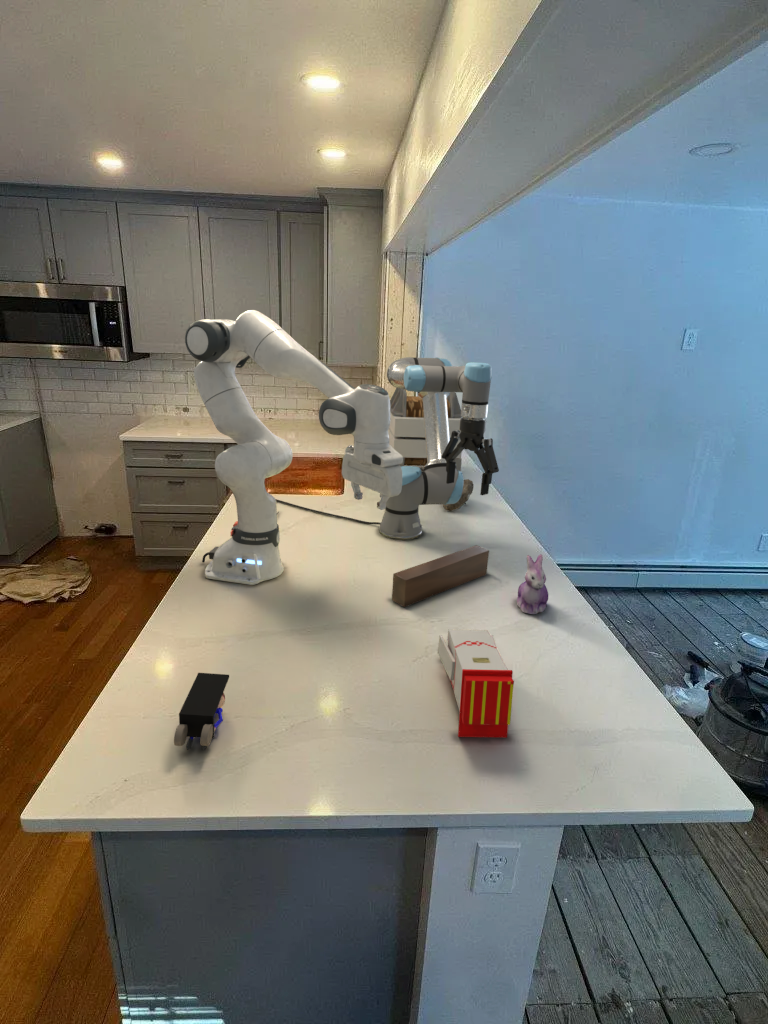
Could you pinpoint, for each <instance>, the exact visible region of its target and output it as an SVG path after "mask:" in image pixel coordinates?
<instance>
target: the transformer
mask: <svg viewBox="0 0 768 1024" xmlns="http://www.w3.org/2000/svg"><path fill="white" fill-rule="evenodd" d="M407 394H408V393H407V390H403V389H399V388H396V387H395V390H394V392H393V394H392V395H391V398H390V426H389V429H388V435H389V445H391V446H392V447H393V448H394V449H395V450H396V451H397V452H398V453H399V454H401V455H402V457H403V462H402V464H399V465H400V466H401V467H402V466H416V467H424V466H425V465H426V464H427V452H426V439H425V426H424V412H423V400H422V399H420V398H419V397H418V395H417V396H415V395H414V396H413V395H412V396H411V395H407ZM446 401H447V413H448V425H449V437H450V439H451V434H452V431H457V430H459V431H460V429H459V428H460V419H461V418H463V417H462V416H461V405H460V402H459V398H458V395H457V392H450V394H449V395H448V397H447V398H446ZM460 432H461V431H460ZM460 441H461V440H460V438H459V440H458V442H457V444H456V446H455V448H456V447H457V445H458V444H459V442H460ZM455 448H454V449H455ZM462 453H463V451H462V452H461V453H460V454H459V455H458V456H457V457H456V459H455V461H453V462H456V468H457V471H461V472H462V461H463V460H462Z"/></svg>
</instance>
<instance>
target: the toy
mask: <svg viewBox="0 0 768 1024" xmlns="http://www.w3.org/2000/svg"><path fill="white" fill-rule="evenodd" d="M446 640H447V643H446V641H445V639H444V636H443V635H442V634H439V637H438V646H437V656H438V657H439V659H440V661H441V663H442V666H443V668H444V670H445V672H446V674H447V677H448V679H449V681H450V684H451V687H452V690H453V693H454V697H455V701H456V705H457V708H458V711H459V714H458V715H459V716H458V730H457V731H458V732H457V737H458V738H508V731H509V726H510V725H511V717H512V707H513V697H514V696H513V695H514V684H515V680H514V679H513V673H514V671H513V670H512V669H508V667H507V665H506V662H505V661H504V659H503V658H502V655H501V653H500V651H499V649H498V647H497V643H496V639H495V637H494V635H493V634H491V632H490V631H489V629H467V628H466V629H465V628H463V629H461V628H460V629H459V628H448V630H447V639H446Z"/></svg>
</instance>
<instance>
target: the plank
mask: <svg viewBox="0 0 768 1024" xmlns="http://www.w3.org/2000/svg"><path fill="white" fill-rule="evenodd" d="M489 556H490V550H489V549H487V548H484V547H482V546H480V545H478V544H475V545H473V546H469V547H467V548H464V549H461V550H458V551H454V552H453V553H449V554H447V555H443V556H441V557H438V558H435V559H431V560H429V561H426V562H423V563H419V564H417V565H414V566H411V567H408V568H406V569H403V570H400V571H397V572H395V573H393V574H392V591H391V593H392V594H391V601H393V602H394V603H396V604H398V605H399V606H401V607H403V608H406V607H409V606H411V605H414V604H416V603H418V602H422V601H424V600H426V599H428V598H431V597H434V596H436V595H438V594H441V593H443V592H446V591H448V590H449V591H450V590H451V589H454V588H456V587H459V586H461V585H464V584H466V583H468V582H471V581H473V580H477V579H479V578H481V577H483V576H486V575H487V573H488V565H489Z"/></svg>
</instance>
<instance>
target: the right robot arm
mask: <svg viewBox="0 0 768 1024" xmlns="http://www.w3.org/2000/svg"><path fill="white" fill-rule="evenodd" d="M386 370H387V371H386V378H387V381H388V383H390V386H392V387H394V388H395V389H396V388H399V389H403V390H406V392H414V393H417V396H418V397H419V398H420V399H422V400H423V412H424V426H425V439H426V452H427V464H426V465H425V466H423V471H422V469H421V467H420V466H407V465H404V466H402V467H401V468H402V490H401V493H400V494H399V495H397V496H393V497H389V499H388V501H387V502H386V508H385V509H384V513H383V515H382V519H381V522H376V521H365V520H361V519H356V518H352V517H349V516H348V517H347V516H342V515H338V514H334V513H329V512H324V511H321V510H316V509H312V508H308V507H305V506H301V505H297V504H293V503H290V502H287V501H283V500H280V499H276V498H275V499H276V502H278V503H281V504H284V505H287V506H291V507H294V508H298V509H302V510H305V511H309V512H313V513H316V514H317V513H318V514H321V515H325V516H330V517H335V518H338V519H339V518H340V519H343V520H348V521H353V522H357V523H360V524H361V523H362V524H366V525H379V527H378V533H379V534H380V535H381V536H382V537H385V538H387V539H389V540H395V541H410V540H415V539H418V538H420V537H421V536H422V535H423V525H422V524H421V518H420V515H419V507H420V506H427V505H428V506H433V505H434V506H435V505H443V504H444V505H446V504H455V503H457V502H458V501H459V499H460V497H461V494H462V490H463V482H464V475H463V472H462V470H461V471H457V468H456V462H453V461H455V459H456V457H457V456H458V455H459V454H460V453H461V452H462V453H463V451H464V450H469V451H471V452H473V453H474V454H475V455H476V456H477V459H478V461H479V463H480V465H481V467H482V469H483V471H484V472H482V476H481V484H480V494H479V495H480V496H485V495H488V494H489V489H490V485H491V484H492V480H493V474H495V473H499V471H500V469H499V465H498V461H497V458H496V454H495V449H494V446H493V445H494V439H493V438H491V437H490V438H485V433H486V430H487V418H488V411H489V401H490V400H489V399H490V390H491V384H492V378H493V377H492V370H493V369H492V365H491V364H490V363H485V362H476V361H475V362H473V361H472V362H467V363H466V364H465V365H462V364H461V365H457V366H453V364H452V363H451V361H450V360H449V359H448V358H443V357H442V358H440V357H411V356H408V357H401V358H399V359H395V360H394V361H392V362H391V363H390V364H389V366H388V367H387V369H386ZM450 392H455V393H462V395H461V406H460V408H461V416H462V417H461V419H460V428H459V429H460V431H461V432H460V431H459V430H457V431H452V434H451V439H450V437H449V425H448V413H447V401H446V398H447V397H448V395H449V394H450ZM459 438H460V440H461V441H460V442H459V444H458V445H457V447H456V448H455V446H456V444H457V442H458V440H459ZM454 448H455V449H454ZM462 453H461V454H462Z"/></svg>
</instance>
